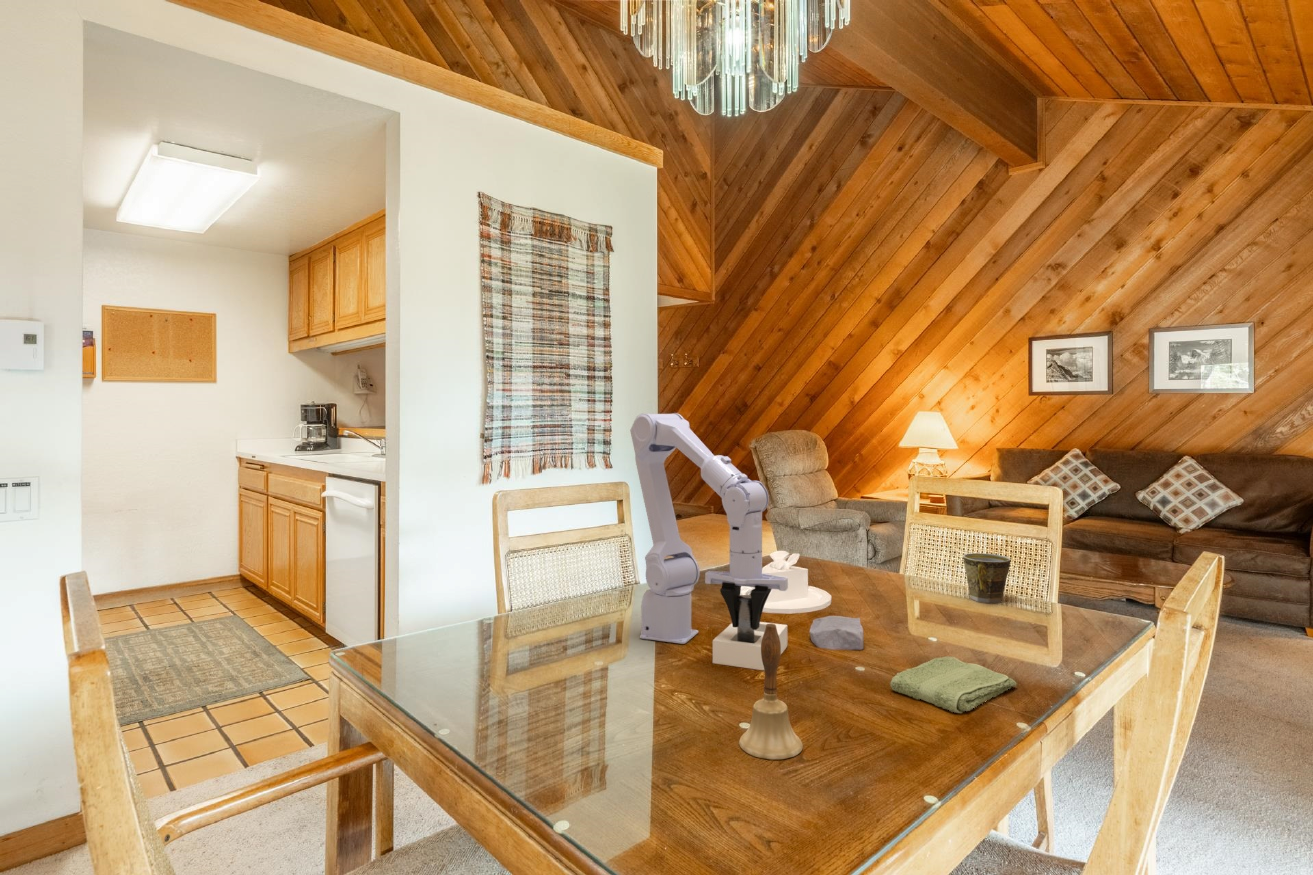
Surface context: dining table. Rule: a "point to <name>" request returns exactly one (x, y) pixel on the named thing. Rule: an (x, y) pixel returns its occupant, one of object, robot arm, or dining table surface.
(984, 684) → the washcloth
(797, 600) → the dish
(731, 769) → the dining table surface
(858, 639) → the stone block
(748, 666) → the hole block
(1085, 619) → the dining table surface
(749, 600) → the peg
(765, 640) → the hand bell
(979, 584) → the ceramic cup
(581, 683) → the dining table surface
